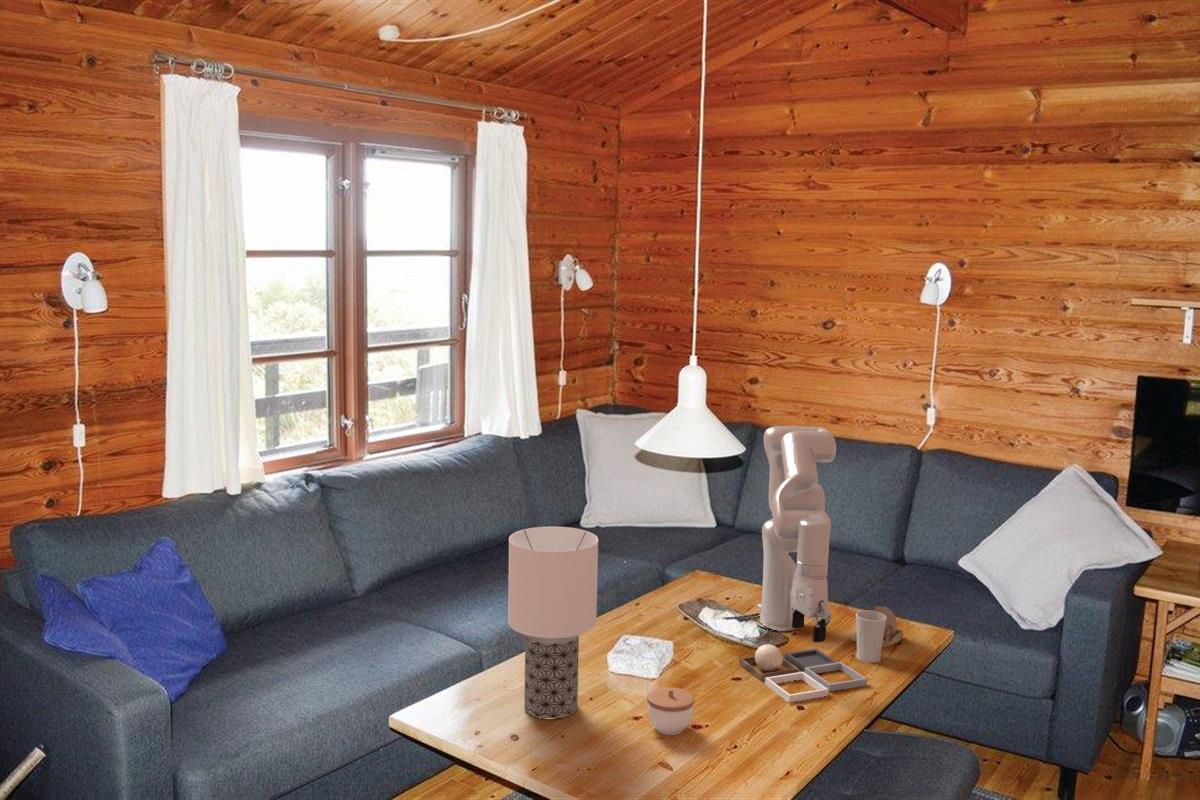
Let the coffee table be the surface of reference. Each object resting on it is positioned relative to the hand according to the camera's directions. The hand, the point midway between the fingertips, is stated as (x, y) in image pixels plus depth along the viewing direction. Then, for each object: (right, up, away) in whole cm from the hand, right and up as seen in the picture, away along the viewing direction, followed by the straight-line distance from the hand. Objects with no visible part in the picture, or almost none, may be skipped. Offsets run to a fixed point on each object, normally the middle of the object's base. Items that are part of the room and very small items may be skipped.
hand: (808, 634), depth 260 cm
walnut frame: (-8, -12, +12) cm, 19 cm away
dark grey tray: (+4, -12, +17) cm, 21 cm away
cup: (+21, -12, +22) cm, 32 cm away
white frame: (-3, -14, 0) cm, 14 cm away
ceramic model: (+27, -10, +35) cm, 45 cm away
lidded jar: (-36, -17, -22) cm, 45 cm away
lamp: (-64, -15, -13) cm, 67 cm away
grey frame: (+8, -13, +7) cm, 17 cm away
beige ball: (-8, -12, +12) cm, 19 cm away
